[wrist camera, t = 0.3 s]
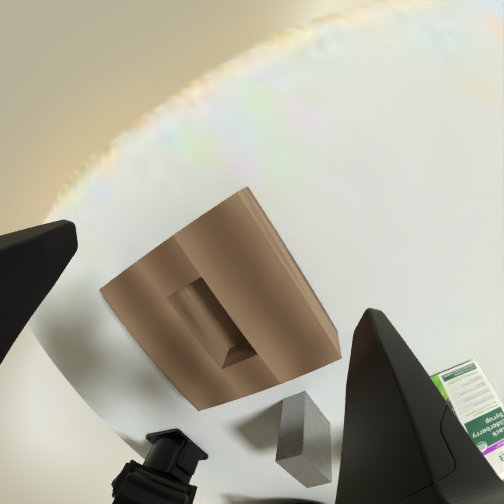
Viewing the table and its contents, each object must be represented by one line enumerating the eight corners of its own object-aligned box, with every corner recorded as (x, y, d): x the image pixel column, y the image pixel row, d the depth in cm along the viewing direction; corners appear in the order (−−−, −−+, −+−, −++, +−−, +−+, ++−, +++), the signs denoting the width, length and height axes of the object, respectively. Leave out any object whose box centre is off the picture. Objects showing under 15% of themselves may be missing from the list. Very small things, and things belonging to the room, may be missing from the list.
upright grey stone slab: (309, 430, 29) (307, 488, 21) (283, 398, 28) (275, 461, 20) (329, 423, 28) (331, 482, 21) (305, 390, 27) (302, 454, 20)
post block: (209, 384, 29) (198, 411, 25) (122, 272, 26) (99, 289, 22) (337, 330, 25) (341, 358, 21) (247, 186, 22) (237, 192, 18)
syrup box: (474, 356, 23) (533, 456, 10) (470, 393, 25) (513, 486, 11) (428, 375, 25) (472, 490, 11) (428, 410, 26) (459, 513, 12)
